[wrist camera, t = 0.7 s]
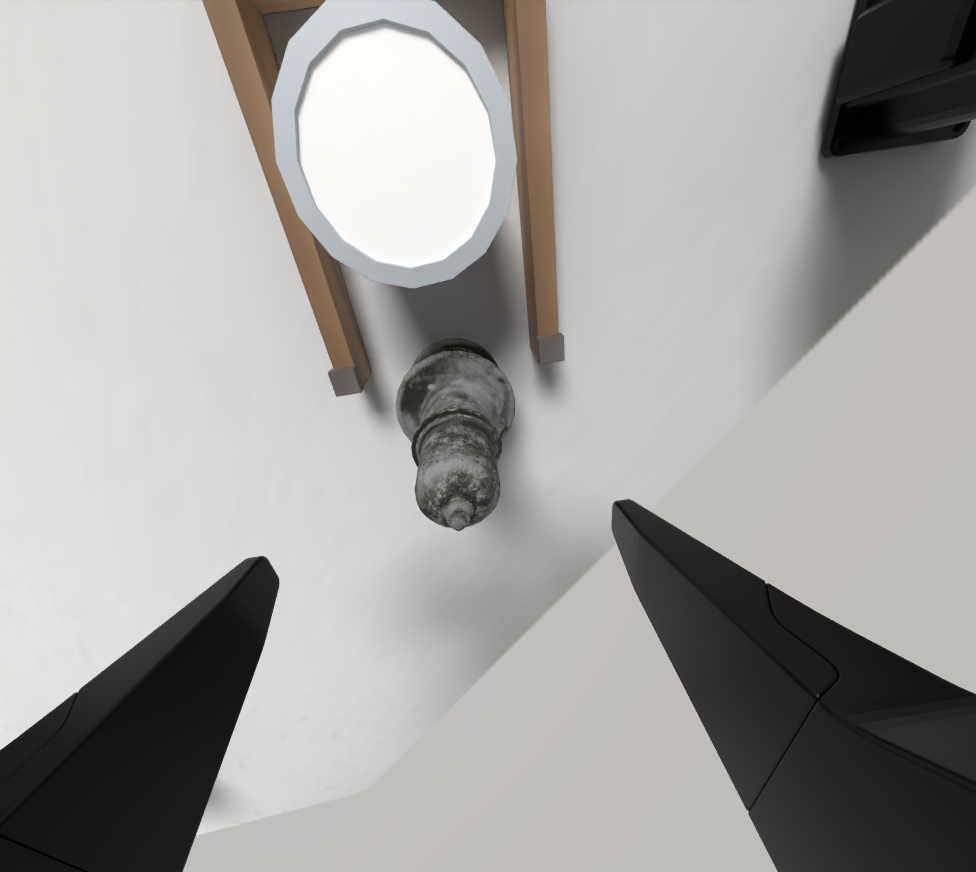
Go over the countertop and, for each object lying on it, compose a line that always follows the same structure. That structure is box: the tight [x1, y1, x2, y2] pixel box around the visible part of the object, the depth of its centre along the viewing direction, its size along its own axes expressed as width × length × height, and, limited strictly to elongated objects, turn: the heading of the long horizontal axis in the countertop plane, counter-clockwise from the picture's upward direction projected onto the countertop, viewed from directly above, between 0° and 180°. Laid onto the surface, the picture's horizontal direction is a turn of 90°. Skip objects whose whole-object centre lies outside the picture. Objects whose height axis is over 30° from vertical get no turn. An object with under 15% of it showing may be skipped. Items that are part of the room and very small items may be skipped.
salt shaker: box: [396, 339, 515, 531], centre depth 16 cm, size 6×6×12 cm
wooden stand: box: [202, 0, 565, 397], centre depth 15 cm, size 11×15×3 cm
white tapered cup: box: [271, 0, 517, 288], centre depth 13 cm, size 7×7×7 cm
